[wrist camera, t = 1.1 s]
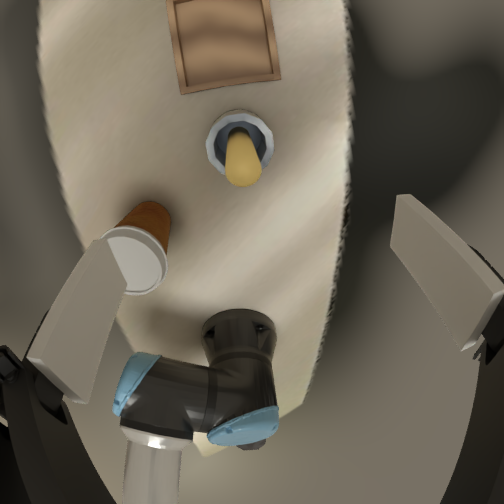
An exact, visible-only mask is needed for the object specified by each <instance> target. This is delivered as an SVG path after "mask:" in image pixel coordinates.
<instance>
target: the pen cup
mask: <svg viewBox="0 0 504 504" xmlns="http://www.w3.org/2000/svg"><path fill="white" fill-rule="evenodd" d="M235 127H243V128H245V129H247V130H248V132H249V134H250V137H251V139H252V142H253V145H254V147H255V150H256V153H257V156H258V158H259V161H260V164H261V168H262V169H263V168H265V167H266V166H267V165H268V163H269V161H270V159H271V157H272V154H273V152H274V143H273V134H272V132H271V131H270V130H269V128H268V127H267V126H266V125H265V123H264V122H263V121H262V120H261V119H260V118H259V117H258V116H257V115H256V114H254V113H252V112H249V111H246V110H243V109H241V110H232V111H228V112H226V113H224V114H223V115H221V116H220V117H219V118H218V119H217V120H216V121H215V122H214V124H213V126H212V128H211V130H210V133H209V135H208V138H207V141H206V149H207V154H208V160H209V161H210V162H211V163H212V164H213V166H214V167H215V168H216V169H217V170H218V171H219V172H220V173H222V174H225V164H226V152H227V140H228V134H229V132H230V130H231V129H233V128H235ZM225 175H226V174H225Z"/></svg>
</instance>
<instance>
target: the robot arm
mask: <svg viewBox="0 0 504 504" xmlns="http://www.w3.org/2000/svg"><path fill="white" fill-rule="evenodd" d="M390 247H391V248H392V250H393V251H394V252H395V253H396V255H397V256H398V257H399V259H400V260H401V261H402V263H403V264H404V265H405V266H406V268H407V269H408V271H409V272H410V274H411V275H412V276H413V278H414V279H415V280H416V282H417V283H418V285H419V286H420V288H421V289H422V290H423V292H424V293H425V295H426V296H427V298H428V299H429V301H430V302H431V304H432V305H433V307H434V308H435V310H436V311H437V313H438V314H439V316H440V317H441V319H442V321H443V322H444V324H445V325H446V327H447V329H448V330H449V332H450V334H451V335H452V337H453V339H454V340H455V342H456V344H457V345H458V347H459V349H460V351H462V350H464V349H466V348H469V347H471V346H473V345H475V343H476V341H477V340H478V338H479V337H480V335H481V334H482V335H483V336H484V338H485V340H484V341H483V343H482V344H481V346H480V347H479V349H478V350H477V351H476V353H475V354H474V357H473V359H476V358H477V356H478V355H479V354H480V353H481V357H480V358H479V361H480V366H479V374H478V381H477V387H476V393H475V398H474V403H473V408H472V413H471V417H470V421H469V425H468V429H467V432H466V436H465V440H464V443H463V446H462V449H461V452H460V455H459V459H458V461H457V464H456V467H455V470H454V472H453V475H452V477H451V480H450V482H449V485H448V487H447V490H446V492H445V494H444V496H443V498H442V500H441V503H440V504H504V279H503V278H502V277H501V276H500V275H499V273H498V272H497V271H496V270H495V269H494V268H493V267H491V265H490V263H489V262H488V261H487V260H485V259H484V257H483V256H482V255H481V254H480V253H479V252H478V251H477V250H476V249H474V248H473V247H471V246H469V245H468V244H466V243H465V242H464V241H463V240H462V239H461V238H460V237H459V236H458V235H457V234H456V233H454V232H453V231H452V230H451V229H450V228H449V227H448V226H447V225H446V224H445V223H444V222H443V221H441V220H440V219H439V218H438V217H437V216H436V215H435V214H434V213H432V212H431V211H430V210H429V209H428V208H427V207H425V206H424V205H423V204H422V203H420V202H419V201H418V200H417V199H415V198H414V197H413V196H412V195H411V194H405V195H397V199H396V208H395V216H394V223H393V230H392V236H391V243H390ZM127 285H128V284H127V282H126V280H125V278H124V276H123V274H122V272H121V270H120V268H119V266H118V263H117V261H116V259H115V257H114V255H113V253H112V250H111V248H110V246H109V243H108V241H107V239H106V238H104V239H99V240H94V241H93V242H92V243H91V245H90V246H89V247H88V249H87V250H86V252H85V253H84V255H83V256H82V258H81V259H80V261H79V262H78V264H77V266H76V267H75V268H74V270H73V272H72V273H71V275H70V276H69V278H68V279H67V281H66V283H65V285H64V286H63V288H62V289H61V291H60V293H59V294H58V296H57V298H56V300H55V302H54V303H53V305H52V307H51V308H50V309H49V310H48V311H47V312H46V314H45V315H44V317H43V319H42V321H41V323H40V326H39V327H38V329H37V331H36V333H35V335H34V337H33V339H32V341H31V343H30V345H29V347H28V350H27V351H26V354H25V356H24V358H23V360H22V362H21V361H20V360H19V359H18V357H17V356H16V355H15V354H14V353H13V352H12V351H11V350H10V349H9V347H7V346H6V345H2V346H0V416H1V417H3V418H4V419H6V420H7V422H8V427H6V426H5V425H3V424H2V423H1V422H0V504H116V502H115V501H114V499H113V497H112V496H111V494H110V493H109V491H108V490H107V488H106V486H105V485H104V483H103V481H102V480H101V478H100V476H99V474H98V473H97V470H96V469H95V467H94V465H93V463H92V461H91V460H90V457H89V455H88V453H87V451H86V449H85V447H84V445H83V443H82V441H81V439H80V436H79V434H78V432H77V429H76V427H75V425H74V422H73V420H72V417H71V415H70V412H69V410H68V407H67V405H66V403H65V402H64V401H63V400H62V398H63V395H64V394H65V395H66V396H67V397H68V398H69V399H71V400H72V401H73V402H77V403H83V404H88V403H89V399H90V395H91V391H92V387H93V384H94V380H95V376H96V373H97V370H98V367H99V363H100V360H101V357H102V354H103V351H104V348H105V345H106V342H107V339H108V336H109V333H110V329H111V327H112V324H113V321H114V319H115V316H116V313H117V311H118V308H119V305H120V303H121V300H122V297H123V295H124V292H125V290H126V287H127ZM276 341H277V336H276V330H275V326H274V324H273V322H272V321H271V320H270V319H269V318H268V317H266V316H265V315H263V314H261V313H259V312H256V311H252V310H244V309H236V310H228V311H224V312H221V313H218V314H216V315H214V316H213V317H211V318H210V319H209V320H208V321H207V322H206V323H205V325H204V326H203V329H202V345H203V348H204V351H205V354H206V357H207V360H208V363H209V367H206V366H201V365H196V364H191V363H187V362H182V361H178V360H174V359H169V358H165V357H162V355H152V354H148V353H143V352H137V353H134V354H133V355H132V356H131V357H130V358H129V360H128V361H127V363H126V366H125V367H124V370H123V372H122V375H121V377H120V380H119V383H118V386H117V390H116V394H115V399H114V403H113V412H114V413H115V414H116V415H117V416H121V420H120V428H121V429H122V431H123V432H124V433H125V435H126V436H127V439H128V440H127V449H126V458H125V469H124V482H123V498H122V504H178V492H179V477H180V465H181V454H182V450H183V448H184V447H186V446H187V445H189V444H190V443H192V442H193V433H194V432H203V433H207V438H208V440H209V442H210V443H212V444H217V445H221V446H235V445H243V444H249V443H253V442H257V441H260V440H263V439H266V438H268V437H270V436H271V435H272V434H274V433H275V432H276V431H277V429H278V426H279V414H278V411H279V407H278V405H277V398H276V391H275V385H274V378H273V371H272V364H271V362H272V358H273V354H274V350H275V346H276Z"/></svg>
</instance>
